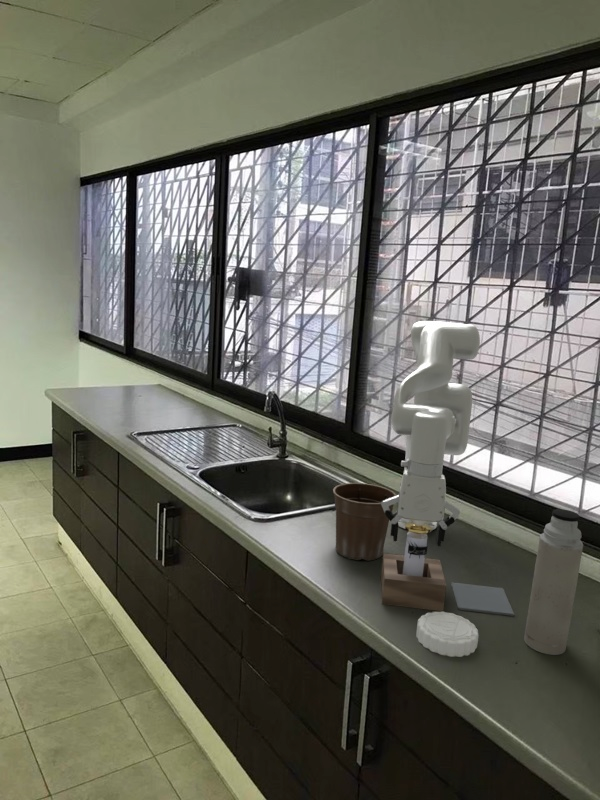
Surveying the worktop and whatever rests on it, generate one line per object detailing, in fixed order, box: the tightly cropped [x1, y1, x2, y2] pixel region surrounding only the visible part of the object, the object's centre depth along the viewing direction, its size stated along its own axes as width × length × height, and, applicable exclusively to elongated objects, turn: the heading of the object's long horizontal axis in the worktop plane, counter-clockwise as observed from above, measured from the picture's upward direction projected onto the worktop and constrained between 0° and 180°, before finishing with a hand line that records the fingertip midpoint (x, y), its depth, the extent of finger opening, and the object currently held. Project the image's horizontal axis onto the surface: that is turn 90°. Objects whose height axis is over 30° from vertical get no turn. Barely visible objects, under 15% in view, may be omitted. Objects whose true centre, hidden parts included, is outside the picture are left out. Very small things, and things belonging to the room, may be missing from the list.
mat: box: [450, 582, 515, 617], centre depth 148 cm, size 12×12×1 cm
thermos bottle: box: [523, 508, 584, 656], centre depth 129 cm, size 8×8×28 cm
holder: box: [380, 552, 447, 612], centre depth 148 cm, size 13×13×6 cm
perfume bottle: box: [402, 520, 432, 577], centre depth 146 cm, size 6×6×20 cm
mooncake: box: [415, 610, 479, 658], centre depth 130 cm, size 12×12×4 cm
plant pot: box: [332, 482, 398, 562], centre depth 167 cm, size 16×16×16 cm
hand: (416, 541), depth 146 cm, fingers open, 9 cm apart
